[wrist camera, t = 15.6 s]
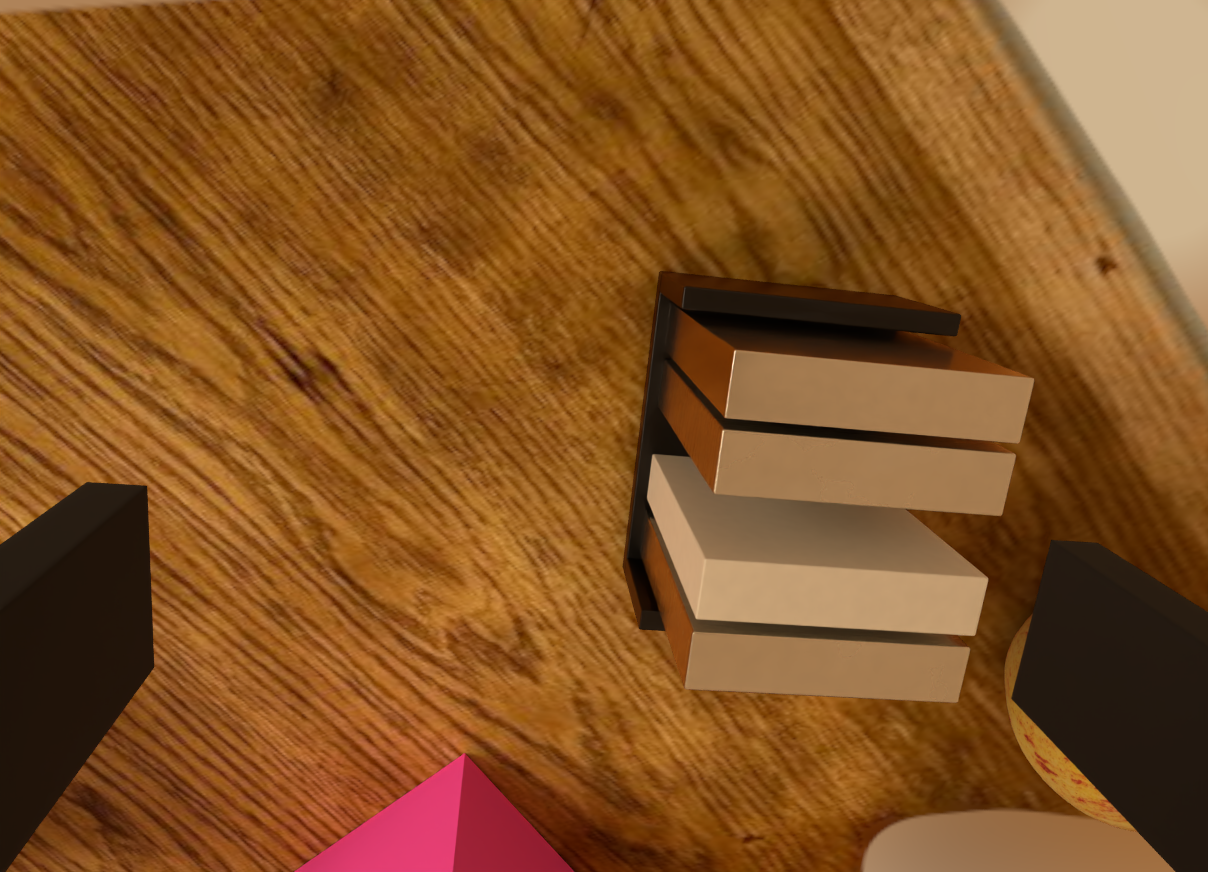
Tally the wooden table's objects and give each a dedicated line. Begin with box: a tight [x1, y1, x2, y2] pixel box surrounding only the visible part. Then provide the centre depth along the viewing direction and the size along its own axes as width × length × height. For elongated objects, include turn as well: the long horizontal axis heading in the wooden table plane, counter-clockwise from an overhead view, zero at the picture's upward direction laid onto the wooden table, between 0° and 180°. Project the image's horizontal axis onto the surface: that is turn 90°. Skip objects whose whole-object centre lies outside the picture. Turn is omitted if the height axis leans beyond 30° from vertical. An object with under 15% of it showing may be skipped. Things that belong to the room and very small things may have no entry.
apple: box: [1005, 613, 1137, 832], centre depth 37 cm, size 9×9×10 cm
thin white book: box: [647, 454, 988, 636], centre depth 33 cm, size 2×9×11 cm, turn 84°
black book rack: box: [623, 271, 1034, 703], centre depth 32 cm, size 13×10×12 cm
